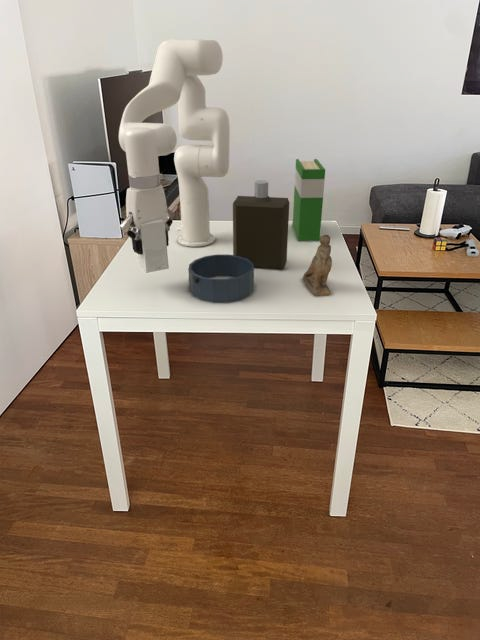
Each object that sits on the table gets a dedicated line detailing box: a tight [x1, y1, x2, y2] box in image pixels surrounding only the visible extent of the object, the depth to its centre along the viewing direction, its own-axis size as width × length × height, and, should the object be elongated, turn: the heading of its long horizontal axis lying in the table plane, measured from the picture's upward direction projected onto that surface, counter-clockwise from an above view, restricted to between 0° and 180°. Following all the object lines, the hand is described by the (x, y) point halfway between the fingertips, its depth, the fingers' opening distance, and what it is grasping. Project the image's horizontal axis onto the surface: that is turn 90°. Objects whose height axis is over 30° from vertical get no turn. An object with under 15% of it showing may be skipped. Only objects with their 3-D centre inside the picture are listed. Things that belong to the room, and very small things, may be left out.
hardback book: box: [292, 158, 326, 242], centre depth 166 cm, size 18×7×24 cm, turn 1°
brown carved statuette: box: [302, 234, 333, 297], centre depth 127 cm, size 12×6×18 cm, turn 6°
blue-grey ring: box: [187, 253, 255, 304], centre depth 130 cm, size 18×20×6 cm
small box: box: [135, 219, 170, 273], centre depth 125 cm, size 8×6×13 cm
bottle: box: [232, 179, 290, 270], centre depth 140 cm, size 8×16×25 cm, turn 80°
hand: (151, 248), depth 126 cm, fingers closed on small box, 7 cm apart
